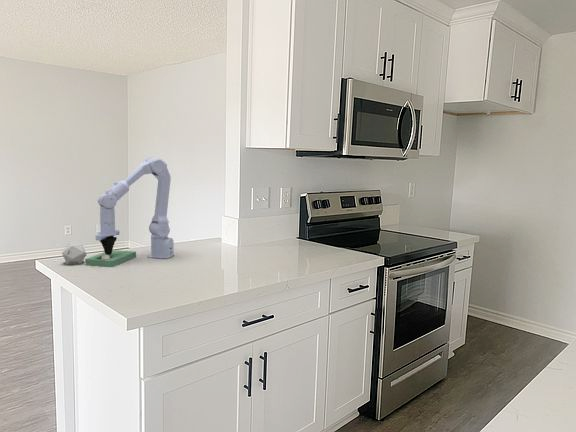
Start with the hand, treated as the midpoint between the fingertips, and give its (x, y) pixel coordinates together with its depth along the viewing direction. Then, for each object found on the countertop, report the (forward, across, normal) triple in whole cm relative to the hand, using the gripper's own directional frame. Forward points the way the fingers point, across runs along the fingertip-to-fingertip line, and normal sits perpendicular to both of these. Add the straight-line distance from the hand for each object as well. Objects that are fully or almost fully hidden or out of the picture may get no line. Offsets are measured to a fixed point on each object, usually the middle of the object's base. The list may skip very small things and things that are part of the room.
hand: (108, 254), depth 192 cm
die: (+4, +6, -12) cm, 14 cm away
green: (+3, -2, 0) cm, 4 cm away
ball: (+1, +2, 0) cm, 3 cm away
